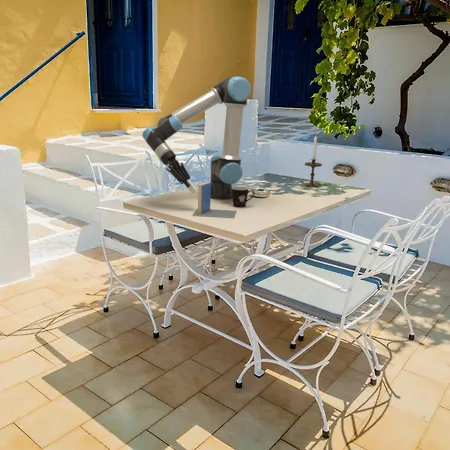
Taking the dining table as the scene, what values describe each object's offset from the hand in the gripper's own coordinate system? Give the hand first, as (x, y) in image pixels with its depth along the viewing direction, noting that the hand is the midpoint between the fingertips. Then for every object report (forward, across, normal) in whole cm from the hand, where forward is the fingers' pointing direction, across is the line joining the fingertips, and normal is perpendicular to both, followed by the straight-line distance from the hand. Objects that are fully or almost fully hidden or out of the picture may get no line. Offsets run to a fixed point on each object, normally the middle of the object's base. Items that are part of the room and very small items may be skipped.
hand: (194, 191), depth 228 cm
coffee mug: (+19, -21, +4) cm, 29 cm away
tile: (+11, 0, -3) cm, 11 cm away
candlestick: (+29, -99, +14) cm, 104 cm away
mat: (+15, -1, +1) cm, 15 cm away
